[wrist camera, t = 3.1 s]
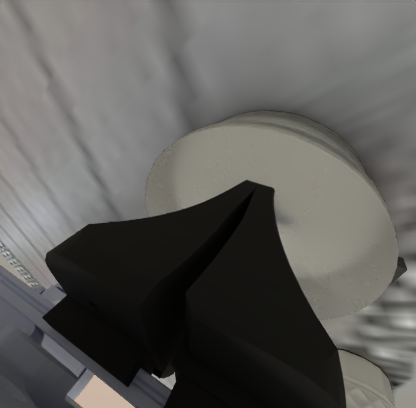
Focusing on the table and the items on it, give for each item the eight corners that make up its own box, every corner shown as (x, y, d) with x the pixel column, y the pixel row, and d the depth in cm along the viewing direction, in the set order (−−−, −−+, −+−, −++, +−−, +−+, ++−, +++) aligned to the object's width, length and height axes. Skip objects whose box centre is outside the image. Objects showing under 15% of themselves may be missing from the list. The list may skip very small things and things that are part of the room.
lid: (317, 330, 15) (315, 363, 13) (163, 256, 19) (148, 274, 17) (503, 169, 6) (562, 214, 4) (140, 95, 10) (105, 105, 9)
